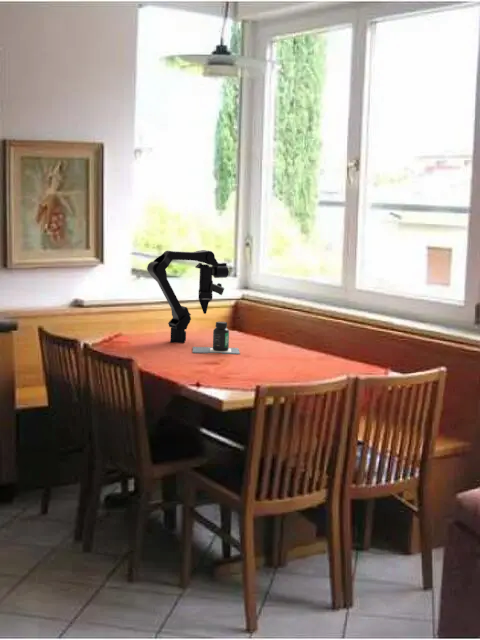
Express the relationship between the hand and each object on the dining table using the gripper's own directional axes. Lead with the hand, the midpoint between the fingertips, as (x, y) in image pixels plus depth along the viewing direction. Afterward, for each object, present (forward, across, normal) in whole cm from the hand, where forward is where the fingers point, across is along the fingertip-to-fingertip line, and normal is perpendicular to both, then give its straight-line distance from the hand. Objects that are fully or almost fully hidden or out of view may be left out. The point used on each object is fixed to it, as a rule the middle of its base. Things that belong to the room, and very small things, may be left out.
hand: (204, 312), depth 432 cm
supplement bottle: (+13, -27, -7) cm, 30 cm away
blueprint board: (+13, -26, -5) cm, 30 cm away
